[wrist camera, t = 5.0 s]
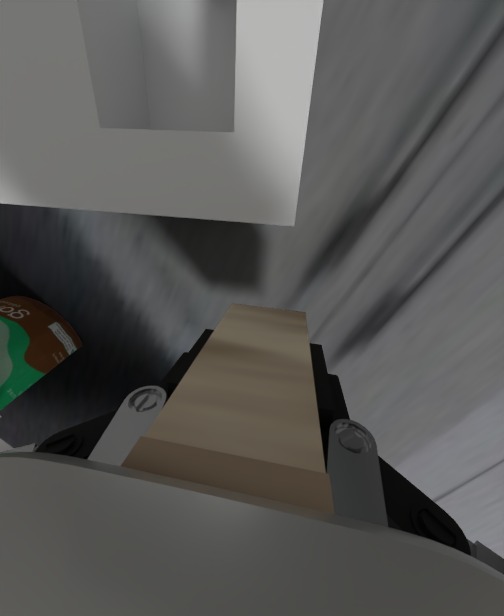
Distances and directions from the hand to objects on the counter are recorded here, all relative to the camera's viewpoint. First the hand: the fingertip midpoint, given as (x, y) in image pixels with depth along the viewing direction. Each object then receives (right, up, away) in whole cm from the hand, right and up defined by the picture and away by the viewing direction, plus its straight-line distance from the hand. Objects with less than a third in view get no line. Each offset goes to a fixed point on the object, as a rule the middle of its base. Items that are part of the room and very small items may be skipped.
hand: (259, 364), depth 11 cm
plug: (0, +1, +2) cm, 2 cm away
